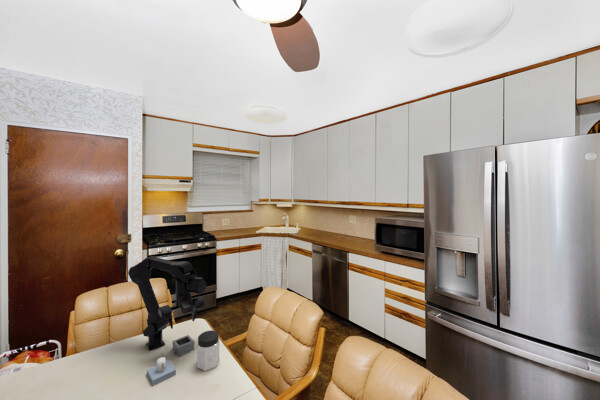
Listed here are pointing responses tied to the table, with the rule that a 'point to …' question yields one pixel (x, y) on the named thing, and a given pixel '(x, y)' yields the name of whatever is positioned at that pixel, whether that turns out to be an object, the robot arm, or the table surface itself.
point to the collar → (183, 345)
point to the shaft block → (161, 371)
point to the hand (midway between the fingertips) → (182, 324)
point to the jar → (208, 350)
